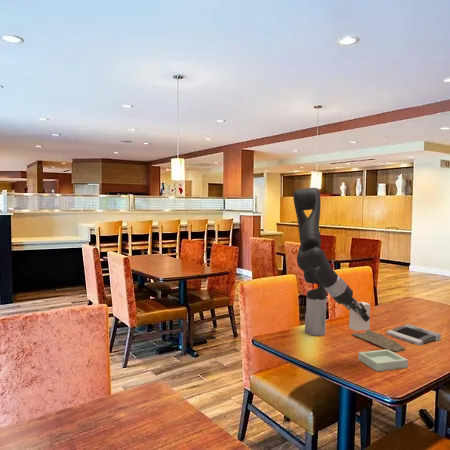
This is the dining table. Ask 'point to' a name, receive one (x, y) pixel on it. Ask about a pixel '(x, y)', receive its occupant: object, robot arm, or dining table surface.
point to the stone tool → (380, 340)
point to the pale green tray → (383, 360)
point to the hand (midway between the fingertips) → (364, 318)
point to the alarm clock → (414, 334)
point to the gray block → (359, 319)
